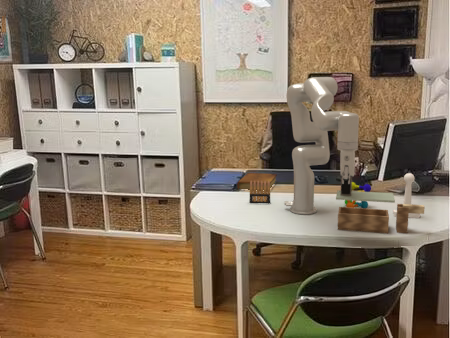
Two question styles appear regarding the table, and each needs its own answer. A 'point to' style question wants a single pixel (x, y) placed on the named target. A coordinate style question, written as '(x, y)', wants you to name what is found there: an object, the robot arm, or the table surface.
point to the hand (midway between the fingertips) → (345, 191)
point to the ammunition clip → (259, 193)
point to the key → (415, 208)
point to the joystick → (408, 195)
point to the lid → (365, 195)
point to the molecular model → (363, 203)
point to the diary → (256, 180)
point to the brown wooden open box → (371, 219)
